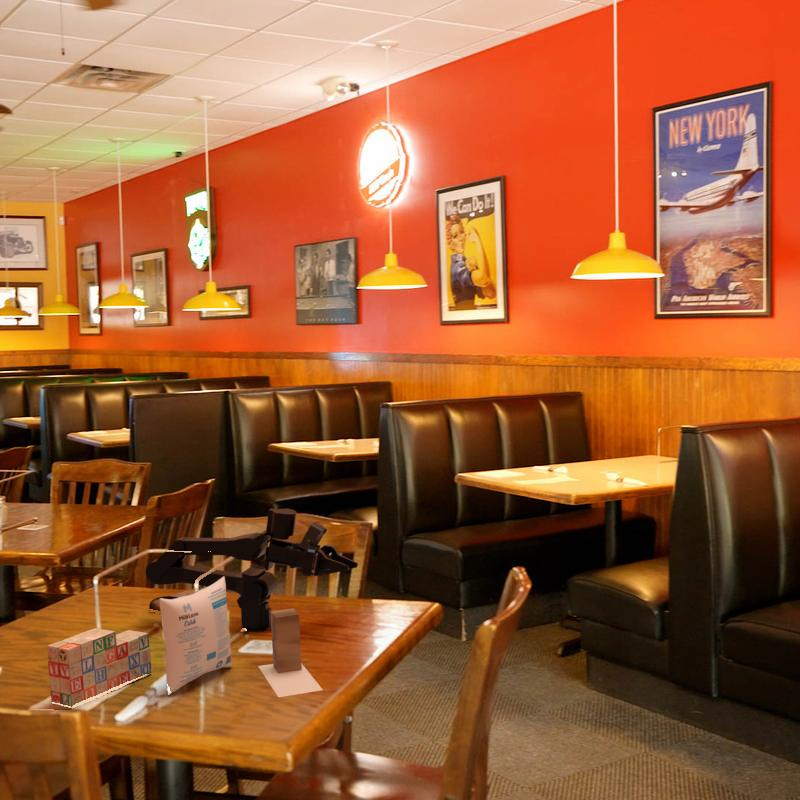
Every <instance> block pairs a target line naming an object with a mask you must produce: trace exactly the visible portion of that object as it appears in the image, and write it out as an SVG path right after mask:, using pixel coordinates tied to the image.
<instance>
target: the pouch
mask: <svg viewBox="0 0 800 800" xmlns="http://www.w3.org/2000/svg"><path fill="white" fill-rule="evenodd" d="M159 600H160V609H161V615H160V616H161V622H162V623H161V625H162V630H163V637H164V649H165V651H164V652H165V673H166V674H165V676H166V677H165V678H166V680H165V681H166V685H167V684H168V686H169V687H170V691H171V692H174V693H175V692H177V691H178V690H179V689H181V688H182V687H183V686H184V685H186V684H188V683H191V682H192V681H194V680H196V679H198V678H199V677H201V676H202V675H204V674H206V673H210V672H214V671H216V670H219V669H222V668H226V669H228V668H232V667H233V658H232V649H231V648H232V647H231V639H230V632H229V623H228V622H229V621H228V599H227V590H226V583H225V577H222V578H221V579H219V580H218V581H217V582H215V583H214V584H212V585H210V586H209V587H204V589H202V590H199V591H197V592H196V593H194V594H191V595H188V596H183V597H179V598H176V599H163V598H160V599H159Z"/></svg>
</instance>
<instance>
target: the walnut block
mask: <svg viewBox="0 0 800 800" xmlns="http://www.w3.org/2000/svg"><path fill="white" fill-rule="evenodd" d="M300 627H301V626H300V613H298V611H297V610H296V609H295V608H286V609H280V610H278V609H277V610H271V626H270V628H271V644H272V646H271V647H272V662H273V663H272V664H273V666H274V668H275V669H276V671H277V672H278V674H279V673H285V672H291V671H298V670H302V665H301V663H302V646H301V630H300Z"/></svg>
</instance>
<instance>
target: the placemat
mask: <svg viewBox="0 0 800 800" xmlns="http://www.w3.org/2000/svg"><path fill="white" fill-rule="evenodd" d="M301 665H302V670H298V671H291V672H285V673H279V674H278V672H277V671H276V669H275V668H274V666H273V663H270V664H264V665H258V666H257V667H258V669H259V670H260V672H261V673H262V675H263V676H264V678H265V679H266V681H267V682H268V685H269V686H270V687H271V689H272V690H273V692H274V693H275V694H276V696H277V697H278V698H283V697H290V696H296V695H302V694H309V693H313V692H321V691H323V688H322V686H320V684H319V683H318V682H317V681H316V679H315V678H314V677H313V676H312V674H311V673H310V671H308V669H307V668H306V667H305V665H303V663H302V662H301Z"/></svg>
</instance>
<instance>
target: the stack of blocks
mask: <svg viewBox="0 0 800 800" xmlns="http://www.w3.org/2000/svg"><path fill="white" fill-rule="evenodd" d="M47 657H48V661H47V665H48V667H47V669H48V675H49V685H50V686H49V688H50V699H51V700H50V701H51V702H55V703H60V704H63V705H68V706H71V707H72V706H73V705H75V704H76V703H79V702H81V701H83V700H86V699H88V698H90V697H93V696H96V695H98V694H100V693H103V692H105V691H108V690H109V689H111V688H113V687H116V686H119V685H120V684H123V683H125V682H127V681H131V680H133V679H136V678H138V677H141V676H143V675H145V674H150V673H152V659H151V657H152V655H151V647H150V636H149V632H142V631H137V630H130V629H127V630H124V631H122V632H119V633H117V632H116V631H114V630H109V629H103V628H102V629H101V628H95V627H94V628H92V629H89V630H86V631H84V632H80V633H78V634H74V635H73V636H70V637H68V638H66V639H62V640H60V641H56V642H54V643H50V644H48V645H47Z"/></svg>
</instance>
